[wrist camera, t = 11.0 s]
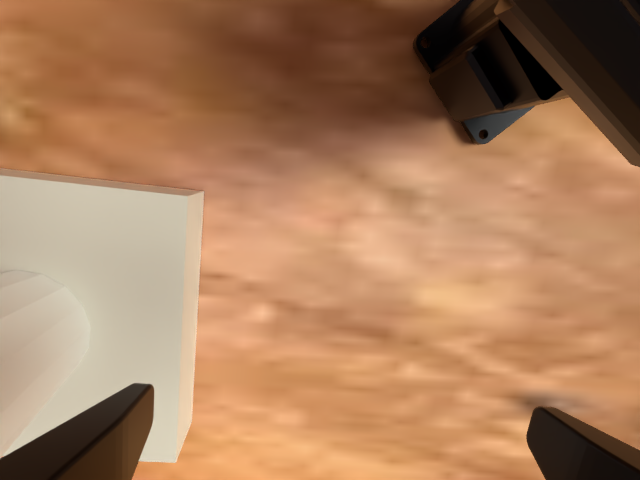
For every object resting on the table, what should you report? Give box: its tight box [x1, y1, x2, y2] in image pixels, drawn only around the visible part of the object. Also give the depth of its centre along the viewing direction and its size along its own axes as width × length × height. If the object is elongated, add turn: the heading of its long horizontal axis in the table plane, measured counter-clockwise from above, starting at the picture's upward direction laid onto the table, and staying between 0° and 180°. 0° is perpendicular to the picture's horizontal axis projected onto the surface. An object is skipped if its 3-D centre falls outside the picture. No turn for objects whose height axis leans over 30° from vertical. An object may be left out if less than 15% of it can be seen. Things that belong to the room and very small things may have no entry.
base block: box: [0, 168, 204, 463], centre depth 18 cm, size 14×14×3 cm
